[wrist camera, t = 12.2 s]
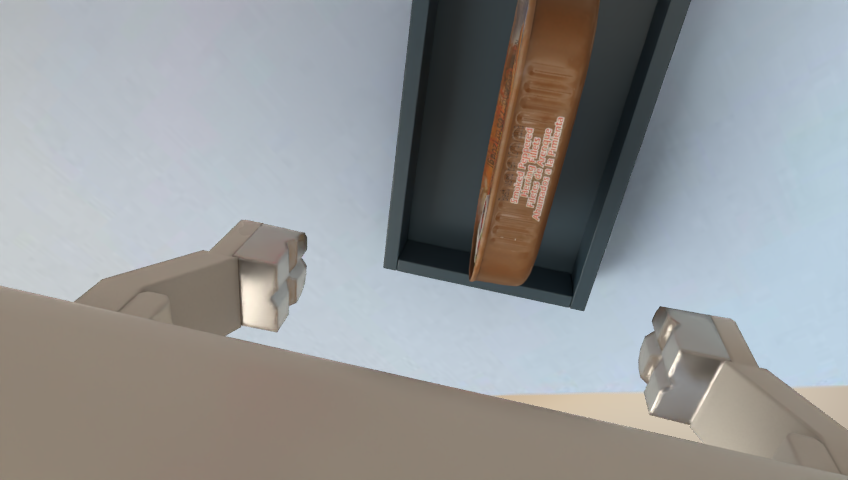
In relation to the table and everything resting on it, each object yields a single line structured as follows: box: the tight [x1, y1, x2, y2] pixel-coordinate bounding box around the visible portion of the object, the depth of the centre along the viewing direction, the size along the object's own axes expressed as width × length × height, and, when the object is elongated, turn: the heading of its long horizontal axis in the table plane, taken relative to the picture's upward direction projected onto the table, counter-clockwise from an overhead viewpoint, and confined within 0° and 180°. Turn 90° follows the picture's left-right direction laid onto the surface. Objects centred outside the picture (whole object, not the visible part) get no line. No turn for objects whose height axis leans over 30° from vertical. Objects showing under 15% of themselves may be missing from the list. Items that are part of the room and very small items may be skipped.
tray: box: [383, 0, 691, 311], centre depth 28 cm, size 12×20×3 cm, turn 172°
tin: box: [469, 0, 600, 286], centre depth 25 cm, size 15×3×8 cm, turn 172°
